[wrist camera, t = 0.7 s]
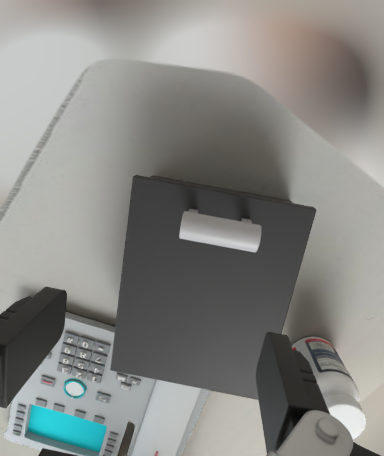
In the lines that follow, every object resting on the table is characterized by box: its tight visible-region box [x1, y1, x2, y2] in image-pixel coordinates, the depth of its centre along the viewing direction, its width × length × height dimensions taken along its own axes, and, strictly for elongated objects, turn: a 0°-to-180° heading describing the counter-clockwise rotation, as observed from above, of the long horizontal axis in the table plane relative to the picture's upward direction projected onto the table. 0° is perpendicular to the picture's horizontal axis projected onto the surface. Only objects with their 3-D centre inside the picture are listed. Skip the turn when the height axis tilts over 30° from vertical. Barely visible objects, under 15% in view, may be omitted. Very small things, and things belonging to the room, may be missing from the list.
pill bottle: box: [292, 337, 366, 439], centre depth 31 cm, size 5×5×9 cm
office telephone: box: [4, 312, 210, 456], centre depth 38 cm, size 23×3×20 cm
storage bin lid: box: [110, 175, 316, 400], centre depth 24 cm, size 18×14×5 cm
